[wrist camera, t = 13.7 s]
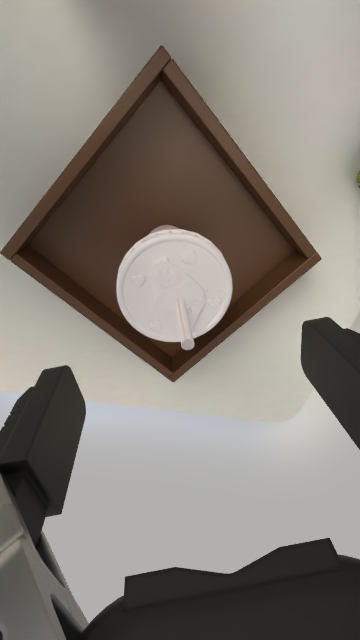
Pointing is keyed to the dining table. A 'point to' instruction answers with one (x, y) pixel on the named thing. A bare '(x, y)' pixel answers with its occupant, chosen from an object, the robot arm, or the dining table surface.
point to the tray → (159, 213)
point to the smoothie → (174, 285)
